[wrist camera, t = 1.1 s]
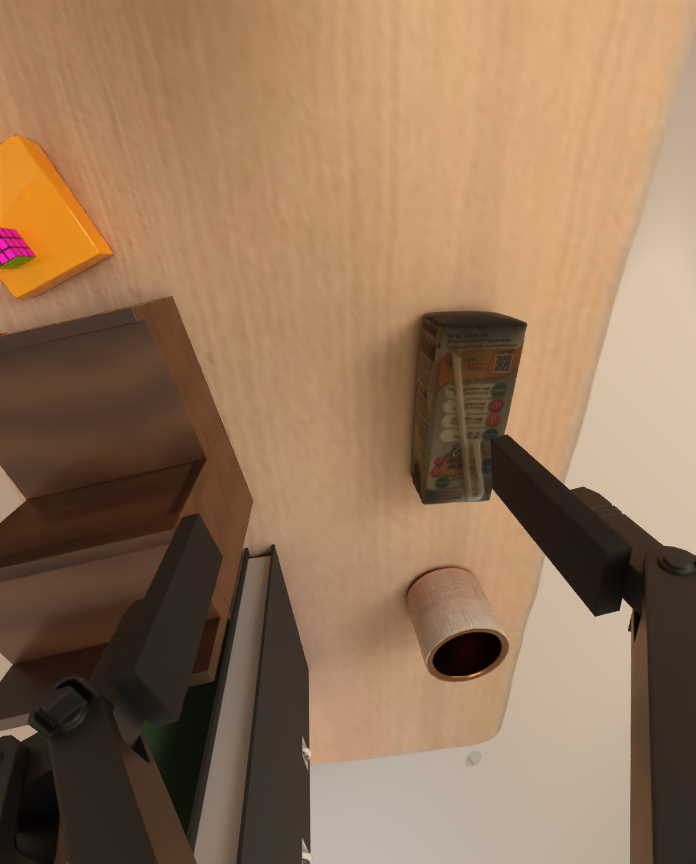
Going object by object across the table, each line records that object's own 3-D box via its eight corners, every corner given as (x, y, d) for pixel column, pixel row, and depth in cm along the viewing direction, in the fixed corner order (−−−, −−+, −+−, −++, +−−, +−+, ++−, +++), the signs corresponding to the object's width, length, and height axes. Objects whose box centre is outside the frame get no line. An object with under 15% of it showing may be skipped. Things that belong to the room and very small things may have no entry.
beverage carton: (406, 477, 43) (422, 512, 37) (418, 309, 34) (441, 319, 28) (469, 472, 43) (496, 506, 37) (496, 307, 35) (535, 316, 29)
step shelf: (-7, 335, 31) (-426, 437, 13) (172, 296, 31) (-5, 344, 13) (119, 531, 41) (-22, 736, 24) (253, 500, 42) (214, 681, 24)
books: (166, 559, 44) (-91, 1117, 15) (285, 542, 45) (253, 1038, 16) (219, 685, 56) (130, 1129, 27) (312, 670, 57) (321, 1083, 28)
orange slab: (-49, 194, 27) (-108, 184, 23) (38, 142, 26) (-8, 122, 22) (35, 297, 30) (-4, 302, 26) (114, 254, 29) (86, 252, 26)
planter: (491, 574, 52) (528, 636, 43) (452, 622, 56) (479, 688, 47) (428, 556, 49) (455, 619, 40) (392, 608, 53) (409, 676, 44)
